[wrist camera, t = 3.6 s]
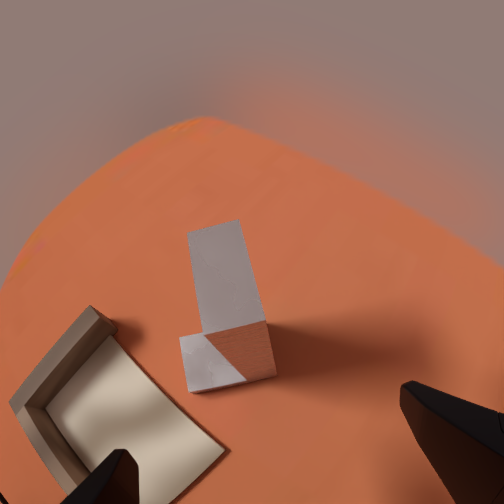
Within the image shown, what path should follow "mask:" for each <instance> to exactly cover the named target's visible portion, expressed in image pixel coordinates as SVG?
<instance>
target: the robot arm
mask: <svg viewBox="0 0 504 504" xmlns="http://www.w3.org/2000/svg"><path fill="white" fill-rule="evenodd" d="M400 407H401V410H402V412H403V414H404V416H405V418H406V420H407V422H408V424H409V426H410V428H411V430H412V432H413V434H414V437H415V439H416V441H417V443H418V444H419V446H420V448H421V449H422V451H423V452H424V454H425V455H426V457H427V458H428V460H429V461H430V463H431V465H432V466H433V468H434V469H435V471H436V472H437V474H438V476H439V477H440V479H441V480H442V482H443V484H444V485H445V487H446V488H447V490H448V492H449V493H450V495H451V496H452V498H453V500H454V501H455V503H456V504H504V414H503V413H500V412H499V413H498V412H497V411H494V410H491V409H488V408H486V407H483V406H480V405H477V404H474V403H471V402H469V401H466V400H463V399H460V398H458V397H455V396H452V395H450V394H447V393H444V392H442V391H439V390H437V389H434V388H431V387H429V386H426V385H424V384H421V383H419V382H416V381H413V380H412V381H409V382H407V383H404V384H402V385H401V388H400ZM60 504H140V496H139V466H138V464H137V462H136V461H135V459H134V458H133V457H132V455H131V454H130V453H129V451H128V450H127V449H114V450H113V451H112V452H111V453H110V454H109V455H108V456H107V457H106V458H105V459H104V460H103V461H102V462H101V463H100V464H99V465H98V466H97V467H96V468H95V469H94V470H93V471H92V472H91V473H90V474H89V475H88V476H87V477H86V478H85V479H84V480H83V481H82V482H81V483H80V484H79V485H78V486H77V487H76V488H75V489H74V490H73V491H72V492H71V493H70V494H69V495H68V496H67V497H66V498H65V499H64V500H63V501H62V502H61V503H60Z"/></svg>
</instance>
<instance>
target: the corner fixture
mask: <svg viewBox="0 0 504 504" xmlns="http://www.w3.org/2000/svg"><path fill="white" fill-rule="evenodd" d="M117 331H118V329H117V328H116V327H115V325H114V324H113V323H112V322H111V321H110V319H109V318H107V317H106V316H105V315H103V314H102V313H100V312H99V311H98V310H96V309H95V308H93V307H92V306H91V305H89V306H88V307H87V308H86V309H85V311H84V312H83V313H82V314H81V315H80V316H79V317H78V318H77V319H76V321H75V322H74V323H73V324H72V325H71V326H70V327H69V328H68V330H67V331H66V332H65V333H64V334H63V335H62V336H61V338H60V339H59V340H58V341H57V342H56V343H55V345H54V346H53V347H52V348H51V349H50V351H49V352H48V353H47V354H46V355H45V357H44V358H43V359H42V360H41V361H40V363H39V364H38V365H37V366H36V367H35V369H34V370H33V371H32V372H31V374H30V375H29V376H28V377H27V379H26V380H25V381H24V382H23V384H22V385H21V386H20V388H19V389H18V390H17V391H16V393H15V394H14V395H13V397H12V398H11V399H10V401H9V404H10V406H11V407H12V409H13V411H14V413H15V415H16V417H17V419H18V421H19V423H20V424H21V426H22V428H23V430H24V432H25V433H26V435H27V437H28V438H29V440H30V442H31V443H32V445H33V447H34V448H35V450H36V452H37V453H38V455H39V456H40V458H41V459H42V461H43V462H44V464H45V465H46V467H47V468H48V470H49V471H50V473H51V474H52V475H53V477H54V478H55V480H56V481H57V482H58V484H59V485H60V486H61V488H62V489H63V490H64V492H65V493H66V494H67V495H69V494H70V493H71V492H72V491H73V490H74V489H75V488H76V487H77V486H78V485H79V484H80V483H81V482H82V481H83V480H84V479H85V478H86V477H87V476H88V475H89V474H90V473H91V472H92V471H93V470H94V469H95V468H96V467H97V466H98V465H99V464H100V463H101V462H102V461H103V460H104V459H105V458H106V457H107V456H108V455H109V454H110V453H111V452H112V451H113V450H114V449H127V450H128V451H129V453H130V454H131V455H132V457H133V458H134V459H135V461H136V462H137V464H138V466H139V496H140V504H169V503H170V502H171V501H173V500H174V499H175V498H176V497H177V496H178V495H179V494H180V493H182V492H183V491H184V490H185V489H186V488H187V487H188V486H189V485H190V484H191V483H192V482H193V481H195V480H196V479H197V478H198V477H199V476H200V475H201V474H202V473H203V472H204V471H205V470H206V469H207V468H208V467H209V466H210V465H211V464H212V463H213V462H214V461H215V460H216V459H217V458H218V457H219V456H220V455H221V454H222V453H223V452H224V451H225V449H224V448H223V447H222V446H221V445H219V444H218V443H217V442H216V441H215V440H214V439H212V438H211V437H210V436H209V435H208V434H207V433H206V432H204V431H203V430H202V429H201V428H200V427H199V426H198V425H197V424H195V423H194V422H193V421H192V420H191V419H190V418H189V417H188V416H187V415H186V414H185V413H184V412H183V411H182V410H180V409H179V408H178V407H177V406H176V405H175V404H174V403H173V402H172V401H171V400H170V399H169V398H168V397H167V396H166V395H165V394H164V393H163V392H162V391H161V390H160V389H159V388H158V387H157V386H156V385H155V384H154V383H153V381H152V380H151V379H150V378H149V377H148V376H147V375H146V374H145V373H144V372H143V371H142V370H141V369H140V368H139V366H138V365H137V364H136V363H135V362H134V361H133V360H132V359H131V357H130V356H129V355H128V354H127V353H126V352H125V351H124V349H123V348H122V347H121V346H120V345H119V344H118V342H117V341H116V340H115V339H114V338H113V335H114V334H115V333H116V332H117Z"/></svg>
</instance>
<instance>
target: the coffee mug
mask: <svg viewBox="0 0 504 504" xmlns="http://www.w3.org/2000/svg"><path fill="white" fill-rule="evenodd" d="M0 501H1V503H2V504H9V503H8V502H7V501H6V499H5V498H4V497H3V495H2V494H1V493H0Z"/></svg>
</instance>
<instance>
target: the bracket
mask: <svg viewBox="0 0 504 504" xmlns="http://www.w3.org/2000/svg"><path fill="white" fill-rule="evenodd" d="M187 236H188V243H189V250H190V257H191V264H192V270H193V277H194V283H195V289H196V295H197V301H198V307H199V313H200V319H201V324H202V330H203V332H202V333H198V334H193V335H189V336H184V337H180V338H179V339H180V345H181V351H182V357H183V363H184V369H185V375H186V380H187V386H188V391H189V392H190V393H193V394H196V393H201V392H207V391H212V390H217V389H222V388H226V387H231V386H236V385H240V384H245V383H249V382H253V381H257V380H261V379H265V378H269V377H273V376H277V371H276V366H275V361H274V357H273V352H272V347H271V342H270V338H269V333H268V328H267V323H266V319H265V315H264V311H263V308H262V304H261V300H260V296H259V293H258V289H257V285H256V282H255V278H254V274H253V270H252V267H251V263H250V259H249V255H248V252H247V248H246V244H245V240H244V237H243V233H242V229H241V225H240V222H239V219H238V220H234V221H230V222H226V223H222V224H219V225H215V226H211V227H207V228H203V229H200V230H196V231H192V232H188V233H187Z"/></svg>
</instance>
